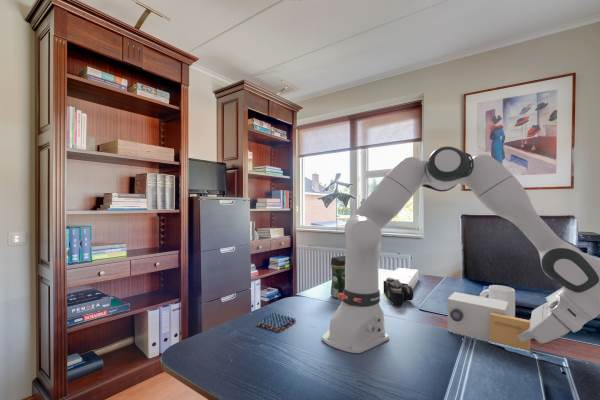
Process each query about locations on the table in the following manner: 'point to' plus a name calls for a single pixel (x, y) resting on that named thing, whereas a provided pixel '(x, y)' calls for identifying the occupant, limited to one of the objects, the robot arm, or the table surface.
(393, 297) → the camera
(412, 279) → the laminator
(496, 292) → the mug
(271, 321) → the woven mat
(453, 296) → the housing
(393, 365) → the table surface
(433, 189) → the robot arm
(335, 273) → the coffee jar
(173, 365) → the table surface
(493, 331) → the side door
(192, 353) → the table surface
